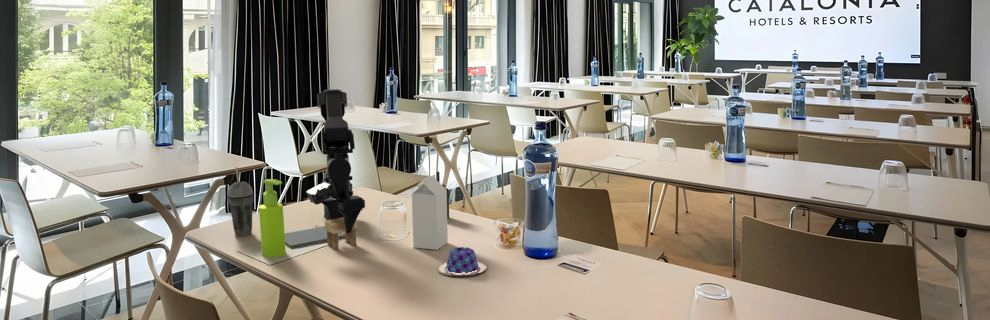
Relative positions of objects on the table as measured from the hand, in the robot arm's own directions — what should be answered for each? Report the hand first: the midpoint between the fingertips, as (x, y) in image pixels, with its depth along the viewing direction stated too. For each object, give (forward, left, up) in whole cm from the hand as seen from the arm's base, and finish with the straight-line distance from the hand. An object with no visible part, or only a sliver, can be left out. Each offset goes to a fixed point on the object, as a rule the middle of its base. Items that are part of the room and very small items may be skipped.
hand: (341, 228), depth 189 cm
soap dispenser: (+17, -4, -5) cm, 18 cm away
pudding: (-15, +36, -5) cm, 39 cm away
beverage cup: (+18, -27, -5) cm, 33 cm away
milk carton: (-19, +15, -5) cm, 25 cm away
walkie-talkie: (-36, -6, -5) cm, 37 cm away
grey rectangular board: (+4, -12, -5) cm, 13 cm away
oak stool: (0, 0, -5) cm, 5 cm away
